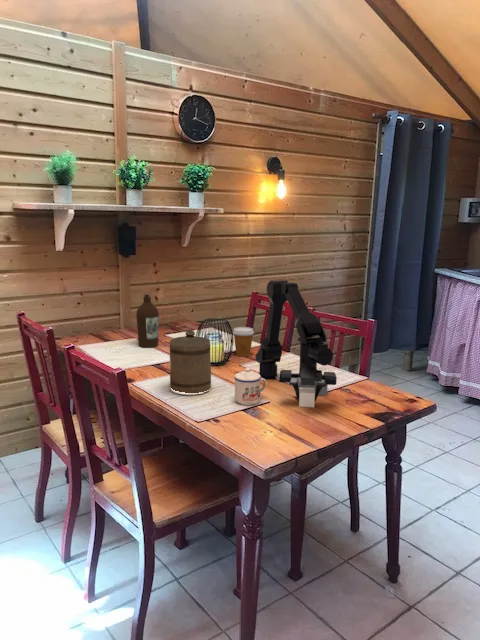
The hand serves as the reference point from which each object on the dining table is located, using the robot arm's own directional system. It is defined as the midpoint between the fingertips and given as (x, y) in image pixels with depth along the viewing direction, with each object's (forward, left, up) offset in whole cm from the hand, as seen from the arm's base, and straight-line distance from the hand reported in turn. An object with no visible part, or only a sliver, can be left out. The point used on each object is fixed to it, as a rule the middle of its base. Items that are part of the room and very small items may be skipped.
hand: (306, 401), depth 168 cm
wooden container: (-42, +9, -1) cm, 43 cm away
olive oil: (-75, +65, -1) cm, 99 cm away
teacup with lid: (-19, +1, -1) cm, 19 cm away
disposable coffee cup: (-28, +56, -1) cm, 63 cm away
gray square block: (+2, +14, -1) cm, 14 cm away
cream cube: (0, 0, -1) cm, 1 cm away
